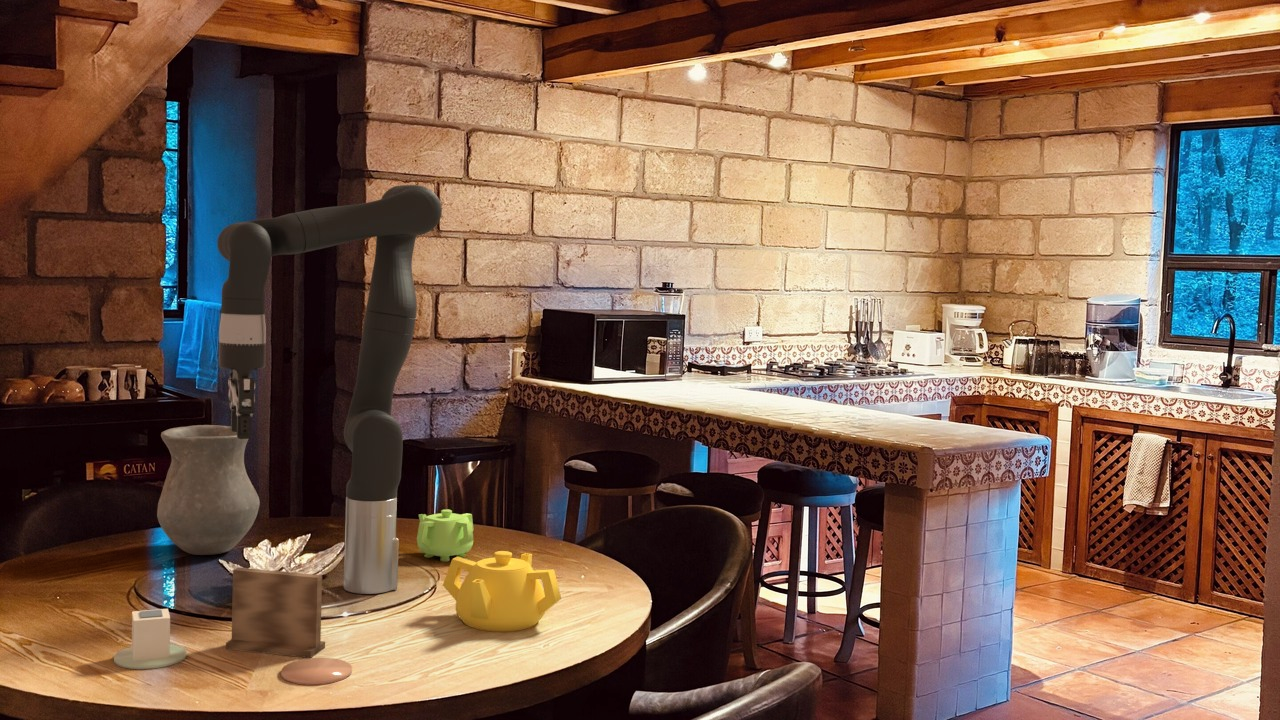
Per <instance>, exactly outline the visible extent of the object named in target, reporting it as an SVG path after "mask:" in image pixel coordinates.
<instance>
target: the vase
mask: <svg viewBox="0 0 1280 720" xmlns="http://www.w3.org/2000/svg"><path fill="white" fill-rule="evenodd" d="M160 437H161V439H162V441H163V443H164V444H165V445H166V447H167V449H168V450H169V453H170V457H171V462H170V466H169V468H168V470H167V473H166V478H165V480H164V483H163V485H162V491H161V494H160V496H159V500H158V503H157V510H156V517H157V521H158V523H159V525H160V527H161V529H162V530H163V532H164V534H165V535H166V536H167V537H168V539H169V540H170V541H171V542H172V543H173V544H175V545H176V547H178V548H179V549H181V550H182V551H183V552H186V553H188V554H190V555H195V556H196V555H197V556H211V555H214V556H215V555H220V554H223V553H227V552H229V551H231V550H232V549H234V547H235V546H236V545H237V544H239V542H240V541H242V539H243V538H245V536H246V535H247V533H248V532H249V531H250V529H251V528H252V526H253V525H254V523H255V520H256V518H257V516H258V513H259V510H260V497H259V495H258V493H257V491H256V489H255V487H254V485H253V484H252V482H251V480H250V478H249V476H248V474H247V469H246V466H245V450H246V448H247V447H246V446H247V444H248V441H249V439H239V438H238V437H237V432H233V431H232V430H231V425H229V426H228V425H215V424H214V425H213V424H203V425H202V424H197V425H188V426H179V427H173V428H169V429H166V430H164V431H162V432H161V434H160Z"/></svg>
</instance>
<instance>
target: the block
mask: <svg viewBox="0 0 1280 720" xmlns="http://www.w3.org/2000/svg"><path fill="white" fill-rule="evenodd" d="M170 644H171V615H170V612H169V608H157V609H148V610H145V609H144V610H134V611H132V612H131V647H132V656H133V661H137V660H147V659H158V658H168V657H170Z"/></svg>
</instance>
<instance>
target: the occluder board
mask: <svg viewBox="0 0 1280 720" xmlns="http://www.w3.org/2000/svg"><path fill="white" fill-rule="evenodd" d="M322 593H323V575H321V574H315V573H314V574H311V573H300V572H289V571H280V570H279V571H278V570H269V569H258V568H247V567H237V568H234V569H233V570H232V602H231V603H232V605H231V606H232V607H231V609H232V610H231V639H230V640H228V641H226V642H225V650H232V651H242V652H244V651H245V652H251V653H261V654H272V655H279V656H288V657H289V656H291V657H298V658H306V659H309V658H314V656H315V655H317V654H319V653H320V652H321V651H323V650H324V649H326V641H325V640H322V639H321V638H322V636H321V634H322V627H321V626H322V600H323V599H322V598H323V594H322Z"/></svg>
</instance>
